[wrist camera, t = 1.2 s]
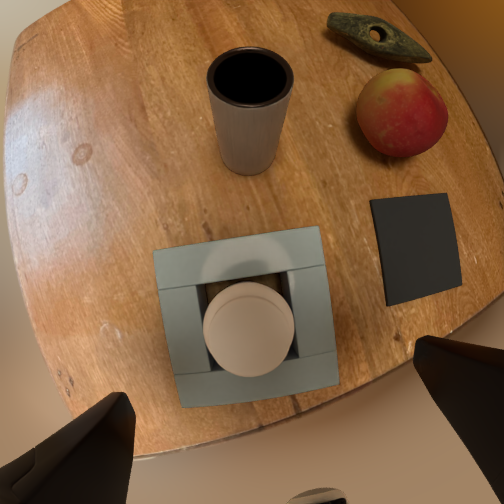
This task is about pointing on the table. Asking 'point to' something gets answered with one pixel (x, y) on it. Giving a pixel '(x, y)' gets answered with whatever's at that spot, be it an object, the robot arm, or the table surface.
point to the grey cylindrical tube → (249, 106)
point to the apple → (401, 113)
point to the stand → (241, 266)
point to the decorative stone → (391, 38)
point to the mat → (416, 246)
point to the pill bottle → (248, 329)
